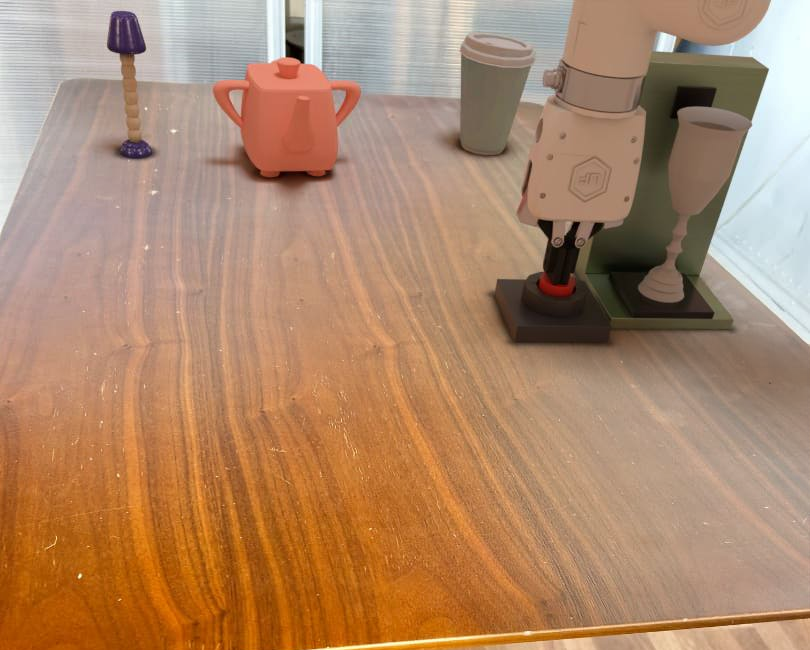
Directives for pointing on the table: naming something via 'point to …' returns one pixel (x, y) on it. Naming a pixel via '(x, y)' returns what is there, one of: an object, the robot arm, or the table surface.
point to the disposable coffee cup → (491, 89)
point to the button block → (551, 313)
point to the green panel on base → (669, 198)
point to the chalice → (694, 182)
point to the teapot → (288, 115)
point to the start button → (556, 286)
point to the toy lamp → (129, 77)
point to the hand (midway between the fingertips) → (556, 278)
